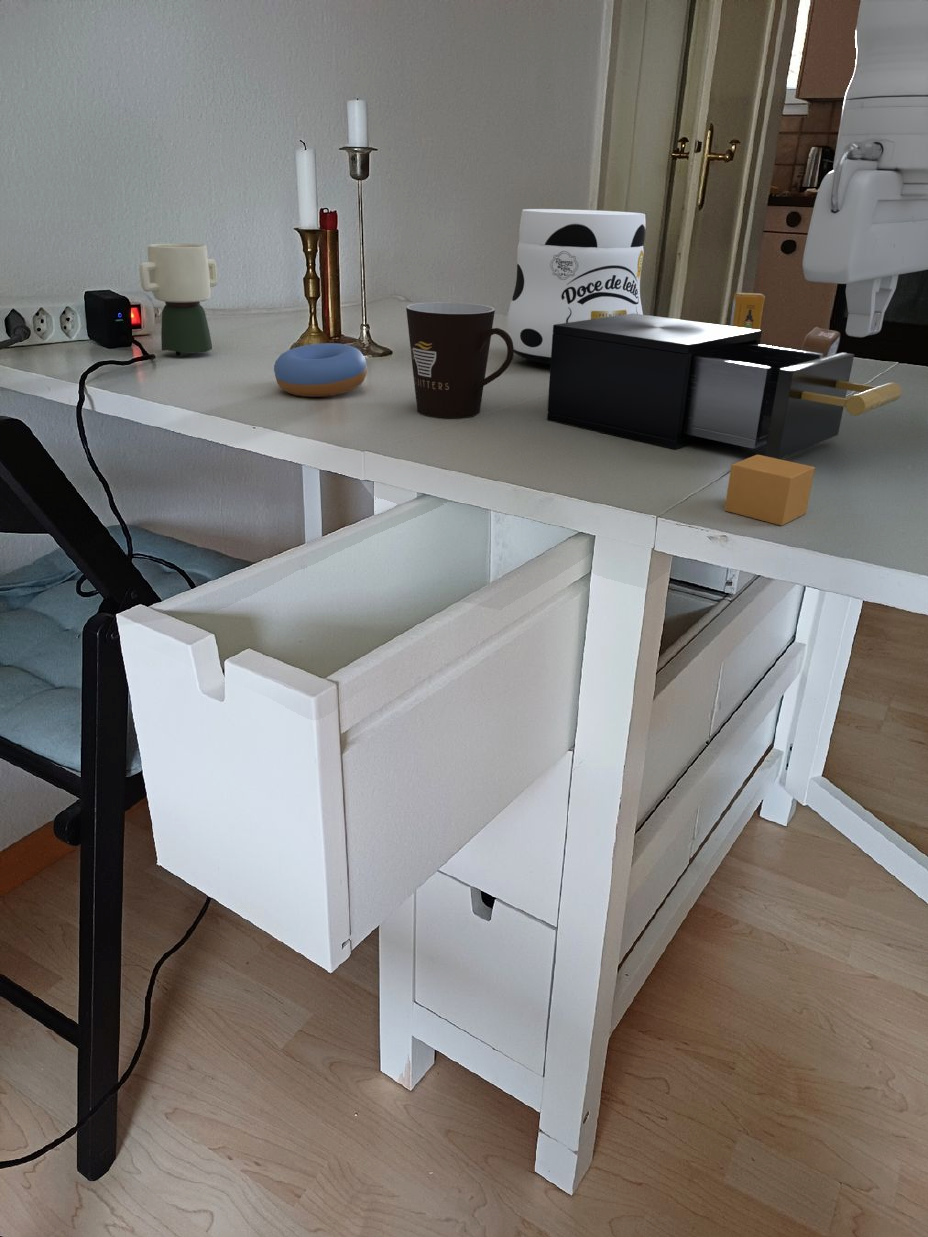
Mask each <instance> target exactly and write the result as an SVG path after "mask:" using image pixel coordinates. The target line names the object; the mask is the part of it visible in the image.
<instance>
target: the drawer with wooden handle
mask: <svg viewBox="0 0 928 1237" xmlns="http://www.w3.org/2000/svg"><path fill="white" fill-rule="evenodd" d="M691 354H692V356H691V363H690V371H689V379H688V387H687V394H686V402H685V410H684V418H683V425H682V433H683V434H688V435H692V436H697V437H702V438H706V439H705V440H711V441H716V442H720V443H725V444H728V445H729V444H730V445H733V446H738V447H742V448H743V447H744V448H749V449H753V450H755V449H758V448H760V447H763V446H765V452H764V456H767V457H771V458H776V459H780V460H782V459H783V458H785V457H788V456H790V455H793V454H795V453H798V452H801V451H803V450H805V449H807V448H810V447H812V446H815V445H818V444H820V443H822V442H825V441H827V440H829V439H832V438H835V437H837V436H838V435H839V433H840V427H841V424H842V423H841V422H842V417H843V412H844V408H845V410H846V412H847V413H848V414H849V415H851V416H854V417H855V416H860V415H862V414H866V413H868V412H870V411H873V410H875V409H878V408H880V407H883V406H885V405H888V404H891V403H893V402H896V401H898V400H899V399H900V398H901V396H902V392H903V391H902V388H901V386H900V384H899V383H897V382H888V383H885V384H882V385H879V386H878V385H877V386H876V385H871V384H865V383H859V382H852V381H850V377H851V374H852V367H853V364H854V358H855V353H847V352H839V353H838V352H837V353H836V354H835V355H831V356H827V357H823V353H815V352H808V351H801V350H800V349H793V348H788V347H779V346H774V345H773V346H772V345H767V344H760V345H759V344H752V343H745V342H743V343H738V344H734V345H729V346H724V347H719V348H715V349H710V350H705V351H700V352H696V353H691ZM848 391H852V392H856V394H854V395H851V396H849V397H848V398H847V392H848Z"/></svg>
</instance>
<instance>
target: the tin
mask: <svg viewBox="0 0 928 1237" xmlns="http://www.w3.org/2000/svg"><path fill="white" fill-rule="evenodd" d="M840 340H841V333H840V331H837V330H832V329H827V328H820V327H818V326H815V327H814V328H813V329H812V330H810V331H809V332H808V333H807V334H806V335H805V336H804V339H803V341H802V344H801V346H800V348H799V350H801V351H808V352H815V353H823V357H827V356H831V355H835V354H837V353H838V352H837V351H838V349H839V345H840Z"/></svg>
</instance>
